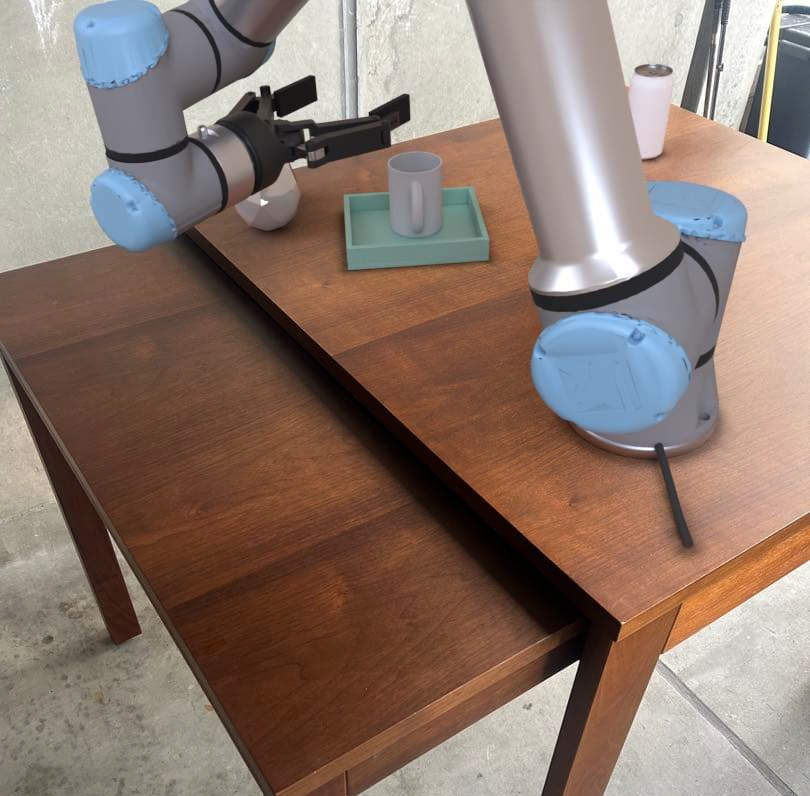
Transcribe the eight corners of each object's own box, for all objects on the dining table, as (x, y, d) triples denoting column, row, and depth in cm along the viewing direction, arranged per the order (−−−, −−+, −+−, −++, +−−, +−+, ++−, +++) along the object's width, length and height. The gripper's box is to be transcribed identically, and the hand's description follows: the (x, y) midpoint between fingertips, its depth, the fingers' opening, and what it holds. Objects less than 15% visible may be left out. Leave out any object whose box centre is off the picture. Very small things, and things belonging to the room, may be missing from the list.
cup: (441, 214, 122) (440, 150, 116) (445, 247, 115) (445, 181, 109) (390, 217, 122) (387, 152, 116) (391, 250, 115) (388, 183, 109)
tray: (489, 260, 114) (489, 239, 112) (348, 270, 113) (346, 248, 111) (472, 206, 126) (473, 185, 123) (345, 214, 125) (343, 194, 123)
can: (646, 141, 140) (659, 60, 131) (670, 155, 135) (685, 72, 127) (612, 149, 138) (622, 67, 129) (635, 163, 134) (648, 79, 125)
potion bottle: (259, 254, 120) (272, 219, 132) (311, 210, 117) (320, 178, 128) (210, 200, 116) (229, 168, 128) (263, 153, 112) (277, 125, 124)
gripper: (321, 146, 79) (449, 78, 91) (137, 101, 90) (273, 46, 102) (329, 224, 85) (450, 151, 96) (155, 173, 96) (282, 113, 107)
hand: (359, 96), depth 99 cm, fingers open, 13 cm apart
